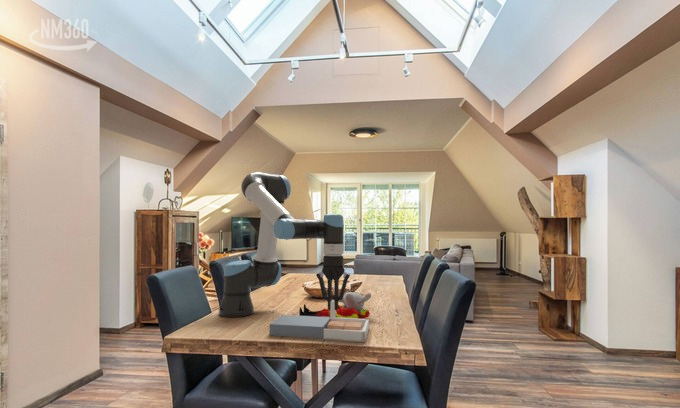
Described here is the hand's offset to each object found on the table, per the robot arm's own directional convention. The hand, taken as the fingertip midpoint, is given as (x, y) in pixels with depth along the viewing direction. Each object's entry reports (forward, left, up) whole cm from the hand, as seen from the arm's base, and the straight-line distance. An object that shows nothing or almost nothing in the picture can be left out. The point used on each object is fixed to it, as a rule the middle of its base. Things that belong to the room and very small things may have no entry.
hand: (332, 318), depth 134 cm
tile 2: (+8, 0, -2) cm, 8 cm away
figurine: (-3, +21, -6) cm, 22 cm away
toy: (+3, +35, -6) cm, 36 cm away
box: (+5, 0, -5) cm, 8 cm away
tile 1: (+1, 0, -5) cm, 5 cm away
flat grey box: (-12, 0, -5) cm, 13 cm away
